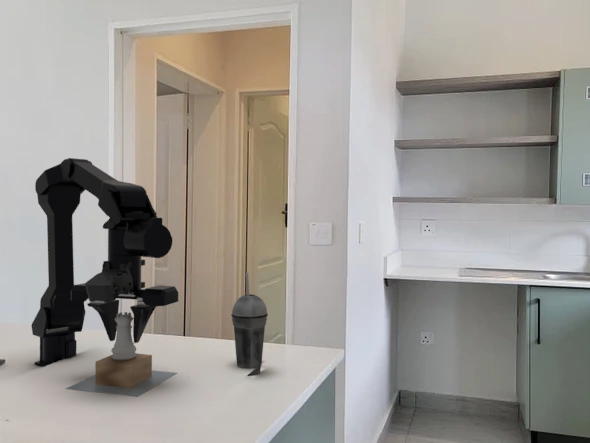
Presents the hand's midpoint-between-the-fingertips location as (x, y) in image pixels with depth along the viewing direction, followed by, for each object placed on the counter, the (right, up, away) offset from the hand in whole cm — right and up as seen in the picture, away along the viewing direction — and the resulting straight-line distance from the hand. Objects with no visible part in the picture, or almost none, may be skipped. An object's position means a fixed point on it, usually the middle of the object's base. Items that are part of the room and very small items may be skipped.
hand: (124, 341), depth 98 cm
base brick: (0, -7, 0) cm, 7 cm away
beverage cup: (+22, -9, +11) cm, 26 cm away
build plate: (0, -9, 0) cm, 8 cm away
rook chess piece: (0, -3, 0) cm, 3 cm away
